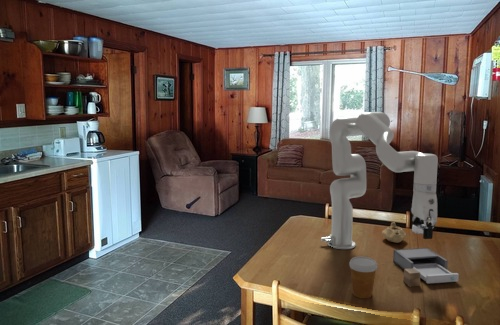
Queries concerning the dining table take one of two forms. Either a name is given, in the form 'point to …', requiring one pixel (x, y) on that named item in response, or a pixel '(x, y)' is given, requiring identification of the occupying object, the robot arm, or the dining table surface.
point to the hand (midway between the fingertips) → (422, 234)
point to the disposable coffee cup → (363, 276)
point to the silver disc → (418, 228)
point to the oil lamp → (394, 233)
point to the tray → (435, 273)
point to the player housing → (417, 257)
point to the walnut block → (412, 277)
